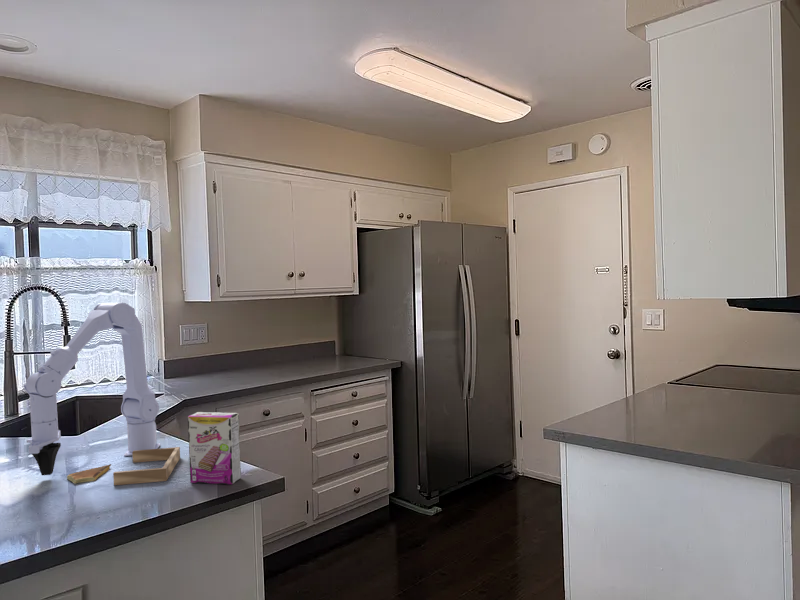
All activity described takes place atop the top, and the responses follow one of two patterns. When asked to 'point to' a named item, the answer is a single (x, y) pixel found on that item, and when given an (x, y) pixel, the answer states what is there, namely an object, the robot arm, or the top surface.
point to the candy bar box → (214, 447)
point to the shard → (88, 474)
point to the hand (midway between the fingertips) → (47, 474)
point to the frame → (149, 474)
